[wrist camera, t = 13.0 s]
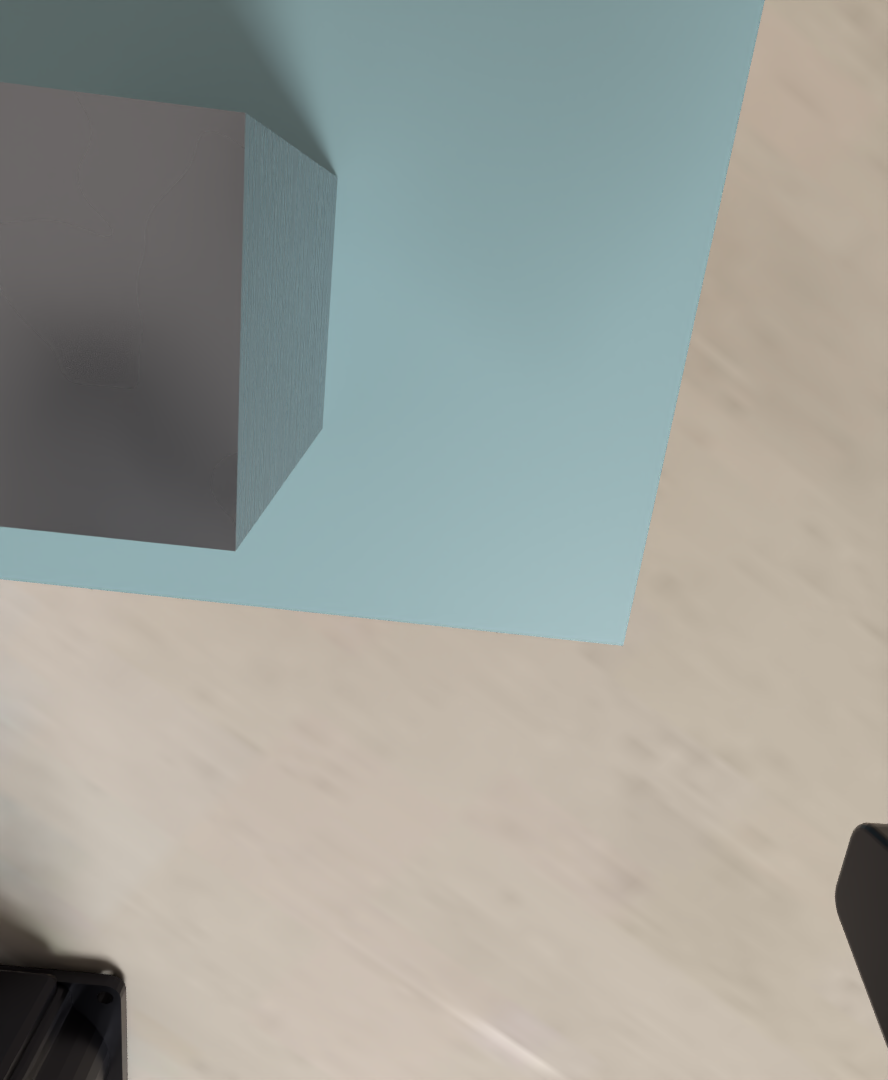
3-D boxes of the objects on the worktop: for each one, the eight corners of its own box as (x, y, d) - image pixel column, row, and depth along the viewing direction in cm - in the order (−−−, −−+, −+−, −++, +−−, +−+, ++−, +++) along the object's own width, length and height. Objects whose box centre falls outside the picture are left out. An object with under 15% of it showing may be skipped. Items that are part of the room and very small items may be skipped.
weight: (322, 428, 14) (235, 551, 8) (90, 402, 13) (-165, 509, 8) (337, 177, 12) (245, 112, 7) (79, 145, 12) (-239, 52, 6)
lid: (608, 614, 16) (622, 645, 15) (-175, 529, 16) (-231, 554, 14) (748, -52, 12) (784, -89, 11) (-292, -200, 12) (-385, -257, 10)
